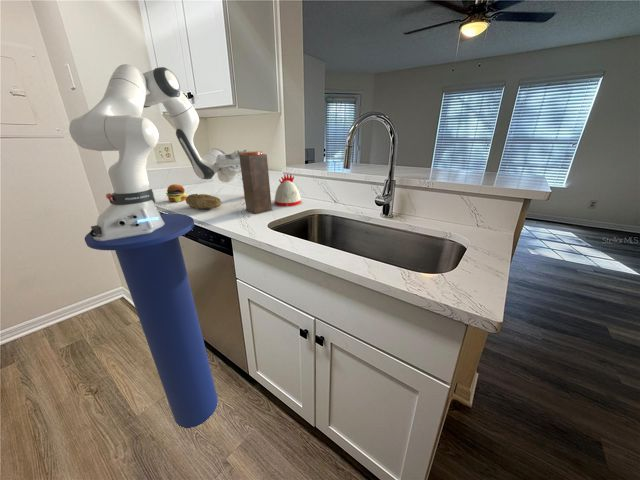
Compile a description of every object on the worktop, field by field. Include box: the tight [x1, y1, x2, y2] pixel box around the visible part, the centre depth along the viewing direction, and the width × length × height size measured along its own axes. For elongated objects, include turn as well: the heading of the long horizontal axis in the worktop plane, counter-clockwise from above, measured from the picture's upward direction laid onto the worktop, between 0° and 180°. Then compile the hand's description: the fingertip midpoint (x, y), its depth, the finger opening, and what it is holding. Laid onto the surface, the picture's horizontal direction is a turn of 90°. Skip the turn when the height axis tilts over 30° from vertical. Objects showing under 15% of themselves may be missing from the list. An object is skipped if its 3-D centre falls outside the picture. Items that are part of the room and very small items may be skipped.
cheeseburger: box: [165, 184, 188, 203], centre depth 148 cm, size 10×11×10 cm
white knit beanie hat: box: [274, 173, 302, 207], centre depth 137 cm, size 14×14×15 cm
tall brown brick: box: [239, 153, 273, 215], centre depth 122 cm, size 9×9×26 cm
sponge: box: [185, 193, 222, 210], centre depth 132 cm, size 13×8×20 cm
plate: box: [238, 150, 263, 155], centre depth 120 cm, size 8×19×1 cm, turn 43°
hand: (242, 151), depth 124 cm, fingers closed on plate, 3 cm apart
